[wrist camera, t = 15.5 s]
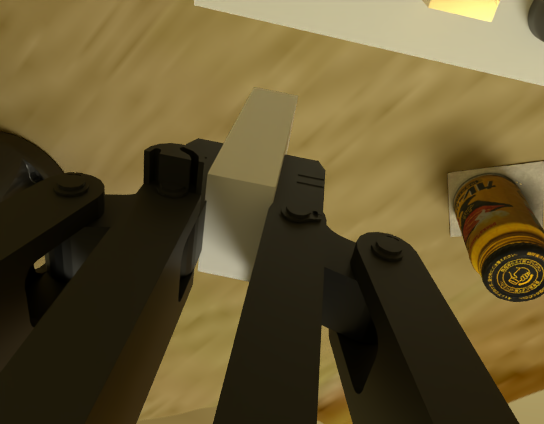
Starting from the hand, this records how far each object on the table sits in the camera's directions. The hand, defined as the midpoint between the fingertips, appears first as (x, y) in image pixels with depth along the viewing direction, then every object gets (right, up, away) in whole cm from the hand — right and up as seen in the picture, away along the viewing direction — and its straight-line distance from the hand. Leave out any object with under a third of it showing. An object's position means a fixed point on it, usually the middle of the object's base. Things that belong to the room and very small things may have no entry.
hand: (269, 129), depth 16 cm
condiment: (+22, -2, +29) cm, 37 cm away
